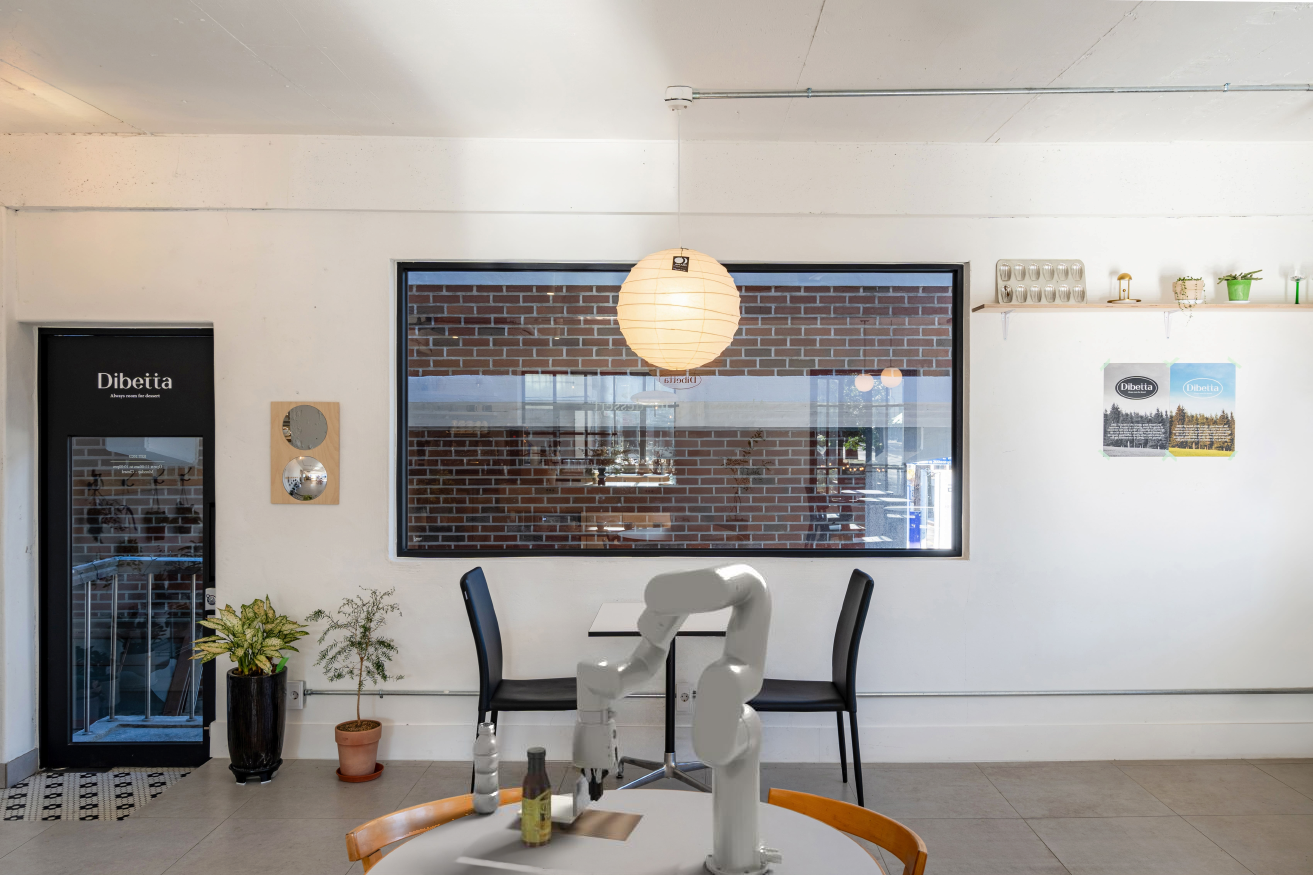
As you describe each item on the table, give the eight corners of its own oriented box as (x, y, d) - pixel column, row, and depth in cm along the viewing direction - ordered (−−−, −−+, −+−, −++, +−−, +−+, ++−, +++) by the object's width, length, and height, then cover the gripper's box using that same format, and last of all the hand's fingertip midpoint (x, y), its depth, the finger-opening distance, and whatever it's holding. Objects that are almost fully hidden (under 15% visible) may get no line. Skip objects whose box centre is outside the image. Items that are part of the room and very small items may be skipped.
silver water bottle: (466, 815, 184) (466, 727, 185) (481, 803, 190) (481, 719, 191) (491, 818, 182) (491, 730, 183) (505, 806, 188) (505, 721, 189)
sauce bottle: (545, 853, 164) (544, 755, 165) (517, 850, 166) (516, 754, 167) (555, 838, 171) (554, 745, 172) (528, 836, 172) (527, 744, 173)
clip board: (643, 819, 180) (643, 815, 180) (625, 845, 167) (625, 840, 167) (539, 807, 187) (539, 803, 187) (514, 831, 175) (514, 826, 175)
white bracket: (593, 810, 182) (593, 768, 183) (575, 831, 172) (575, 786, 172) (538, 804, 186) (537, 763, 187) (517, 824, 176) (516, 780, 176)
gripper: (630, 712, 179) (632, 795, 178) (570, 708, 183) (571, 789, 182) (619, 722, 172) (622, 808, 171) (556, 718, 176) (558, 802, 175)
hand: (596, 798), depth 176 cm, fingers closed
